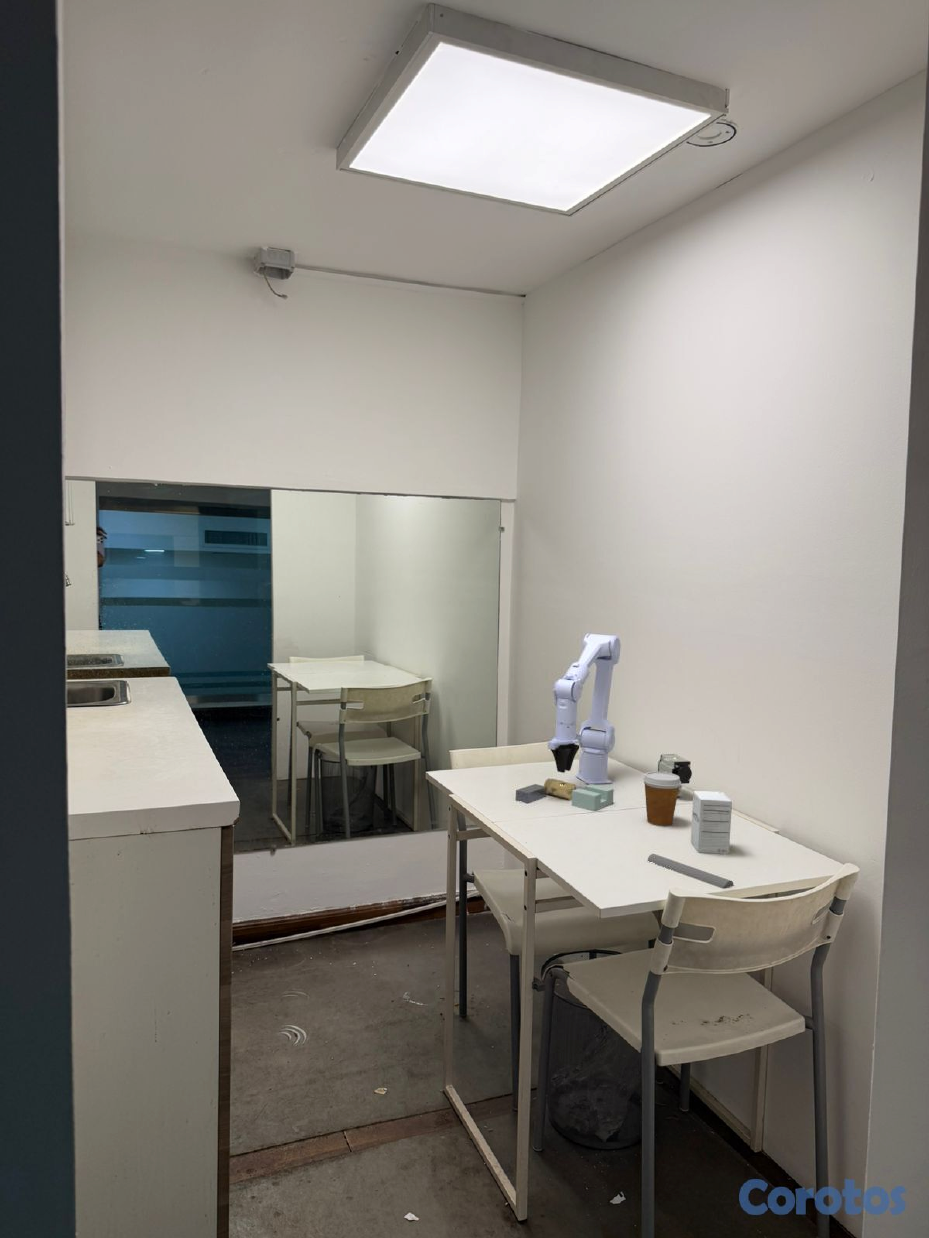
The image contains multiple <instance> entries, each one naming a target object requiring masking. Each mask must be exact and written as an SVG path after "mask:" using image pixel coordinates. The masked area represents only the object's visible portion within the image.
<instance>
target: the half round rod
mask: <svg viewBox="0 0 929 1238" xmlns="http://www.w3.org/2000/svg"><path fill="white" fill-rule="evenodd" d="M648 861H649V862H648ZM647 862H648V863H650V862H653V863H655V864H654V865H656V864H657V865H656V866H658V867H661V866H662V867H661V868H664V867H665V868H664V869H668V870H670V869H671V870H670V871H672V870H673V872H676V873H679V874H682V875H684V876H687V877H689V878H691V879H695V880H698V881H701V882H703V883H707V884H709V885H711V886H714V887H718V888H720V889H725V888H727V887H729V886H732V885H734V881H733V880H730V879H727V878H724V877H721V876H719V875H716V874H713V873H709V872H708V871H704V870H701V869H698V868H695V867H693V866H691V865H687V864H684V863H682V862H678V861H675V860H673V859H670V858H667V857H664V856H661V855H659V854H656V853H651V854H650V855H648V857H647ZM653 863H652V864H653Z"/></svg>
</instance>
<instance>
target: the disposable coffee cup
mask: <svg viewBox="0 0 929 1238" xmlns="http://www.w3.org/2000/svg"><path fill="white" fill-rule="evenodd" d="M642 781H643V783H644V793H645V795H644V796H645V809H646V821H647V822H648V823H649V824H651V825H655V826H660V825H661V826H662V827H663V826H671V825H673V821H674V816H675V810H676V807H677V806H676V804H677V800H678V797H677V795H678V790H679V787H680V785H682V784H681V781H680V778H679V776H677V775H675V774H672V773H667V772H658V771H649V772H646V773H645V774H644V777H643V778H642Z"/></svg>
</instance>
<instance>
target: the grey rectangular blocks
mask: <svg viewBox="0 0 929 1238" xmlns="http://www.w3.org/2000/svg"><path fill="white" fill-rule="evenodd" d="M553 779H554V780H558V781H561V780H560V779H557V778H553ZM547 796H548V794H547V787H546V786H544V785H542V784H538V783H534V784H531V785H526V786H525V787H522V788H519V789H516V790H515V801H516V802H517V801H518V802H520V801H522V802H521V803H524V802H525V803H524V804H529V802H530V803H532V801H533V802H536V801H539V800H541V799H543V798H546V797H547Z"/></svg>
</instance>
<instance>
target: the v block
mask: <svg viewBox="0 0 929 1238" xmlns="http://www.w3.org/2000/svg"><path fill="white" fill-rule="evenodd" d="M612 803H613V804H614V788H611V787H606V786H603V785H599V784H586V785H585V787H584V789H582V788H576V790H573V791H572V800H571V806H572V807H577V808H581V809H584V810H589V811H593V812H596V811H598V810H601V809H602V808H605V807H607V805H608V806H610V805H612ZM609 804H610V805H609Z"/></svg>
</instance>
